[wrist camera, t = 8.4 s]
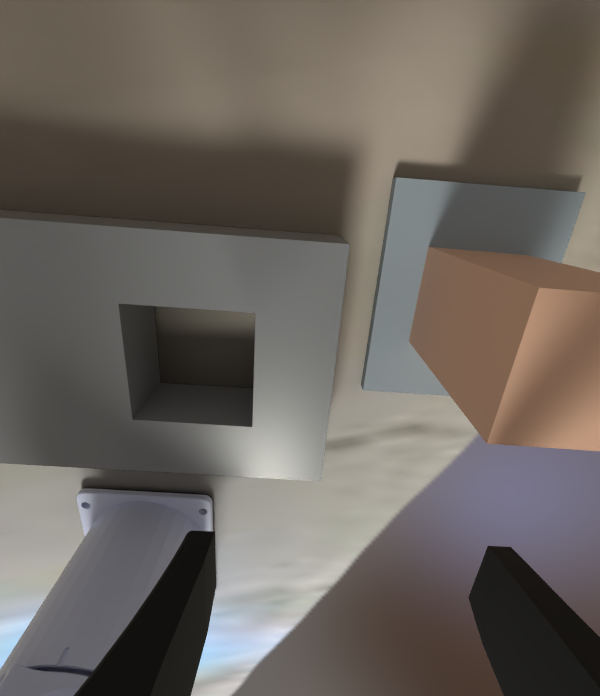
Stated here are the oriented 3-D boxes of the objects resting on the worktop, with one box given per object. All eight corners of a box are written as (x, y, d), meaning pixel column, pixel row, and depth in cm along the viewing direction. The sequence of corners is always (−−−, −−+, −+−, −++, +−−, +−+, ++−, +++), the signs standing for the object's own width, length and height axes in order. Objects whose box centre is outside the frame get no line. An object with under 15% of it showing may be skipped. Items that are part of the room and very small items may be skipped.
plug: (498, 348, 18) (640, 453, 10) (408, 341, 18) (486, 443, 10) (527, 255, 16) (721, 302, 9) (428, 246, 16) (538, 287, 9)
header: (317, 436, 21) (321, 481, 17) (31, 419, 20) (-21, 461, 17) (339, 235, 16) (349, 244, 13) (-22, 207, 16) (-104, 210, 13)
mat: (508, 394, 19) (514, 399, 19) (361, 384, 19) (363, 390, 19) (575, 193, 16) (585, 192, 15) (392, 178, 15) (396, 177, 15)
